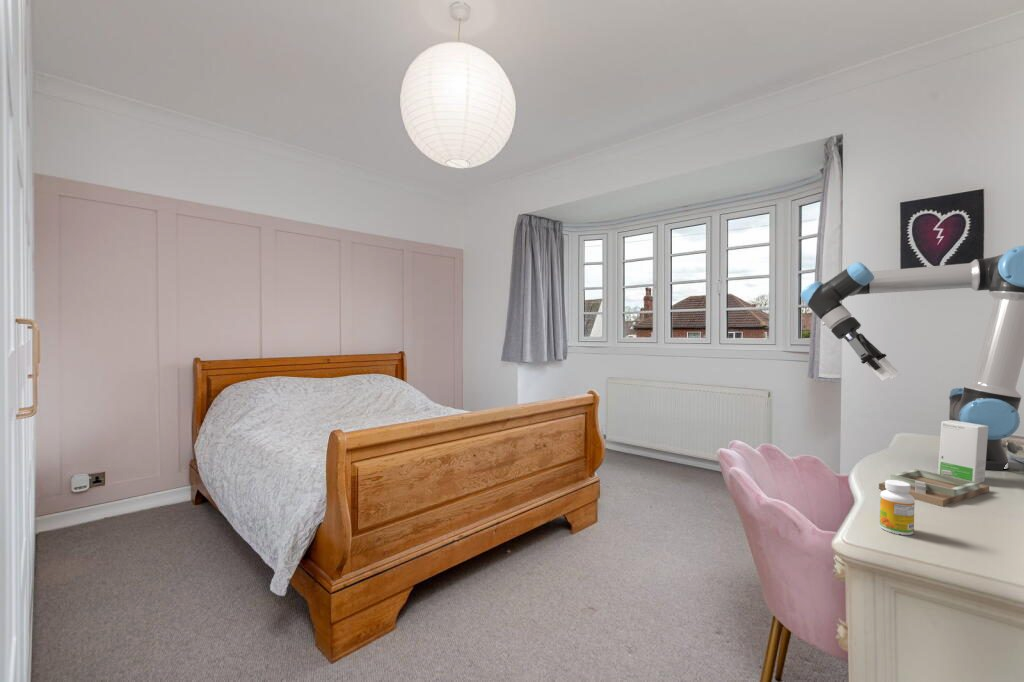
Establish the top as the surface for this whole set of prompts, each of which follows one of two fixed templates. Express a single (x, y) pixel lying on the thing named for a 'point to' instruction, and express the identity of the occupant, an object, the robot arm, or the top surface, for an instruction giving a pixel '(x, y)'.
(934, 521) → the top surface
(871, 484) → the top surface
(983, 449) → the skincare box
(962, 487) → the board
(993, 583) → the top surface
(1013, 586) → the top surface
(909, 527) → the supplement bottle
